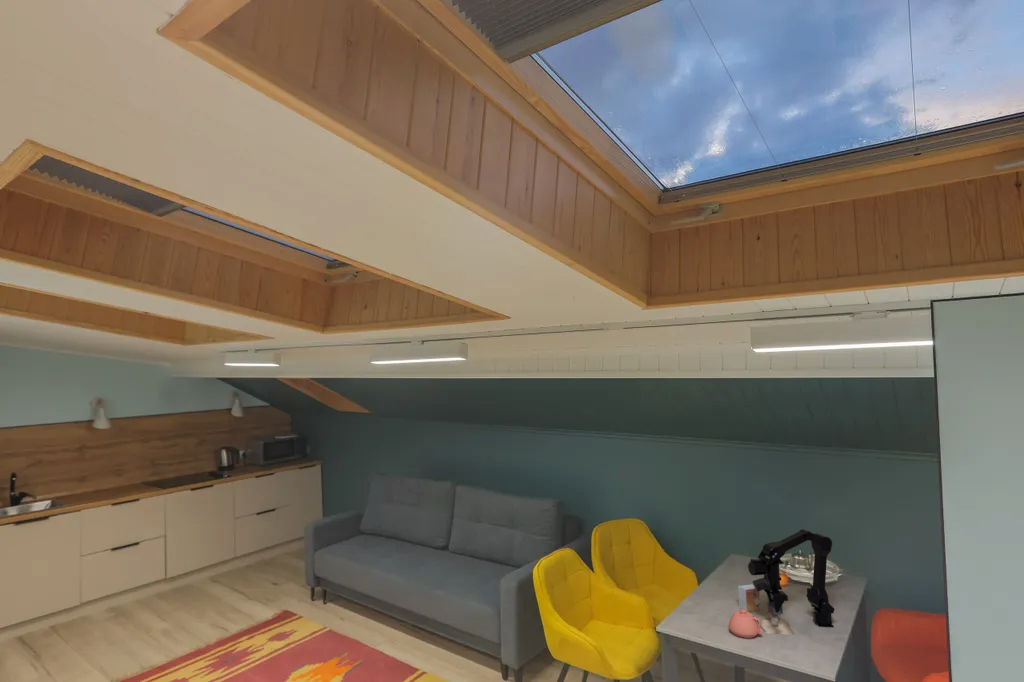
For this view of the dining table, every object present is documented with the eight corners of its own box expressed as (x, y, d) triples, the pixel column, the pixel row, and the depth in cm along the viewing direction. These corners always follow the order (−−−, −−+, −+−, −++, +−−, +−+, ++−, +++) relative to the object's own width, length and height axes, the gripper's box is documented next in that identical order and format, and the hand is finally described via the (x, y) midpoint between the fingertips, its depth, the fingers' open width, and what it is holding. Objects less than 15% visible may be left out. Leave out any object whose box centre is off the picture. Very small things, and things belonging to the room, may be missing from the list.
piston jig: (783, 622, 253) (783, 608, 254) (794, 634, 241) (793, 620, 242) (756, 621, 254) (756, 608, 255) (765, 633, 243) (764, 619, 243)
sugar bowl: (734, 625, 251) (733, 602, 252) (766, 634, 242) (765, 610, 243) (725, 635, 242) (724, 611, 242) (758, 644, 233) (757, 619, 233)
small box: (746, 612, 264) (745, 589, 265) (738, 607, 270) (737, 585, 271) (760, 610, 267) (759, 587, 267) (752, 605, 272) (751, 583, 273)
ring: (779, 608, 251) (778, 602, 251) (784, 614, 245) (784, 607, 245) (764, 608, 252) (764, 601, 252) (769, 614, 246) (768, 607, 246)
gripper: (747, 566, 260) (749, 600, 259) (760, 580, 241) (762, 617, 240) (772, 566, 258) (774, 601, 257) (787, 581, 240) (789, 618, 239)
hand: (774, 609), depth 248 cm, fingers closed on ring, 6 cm apart
